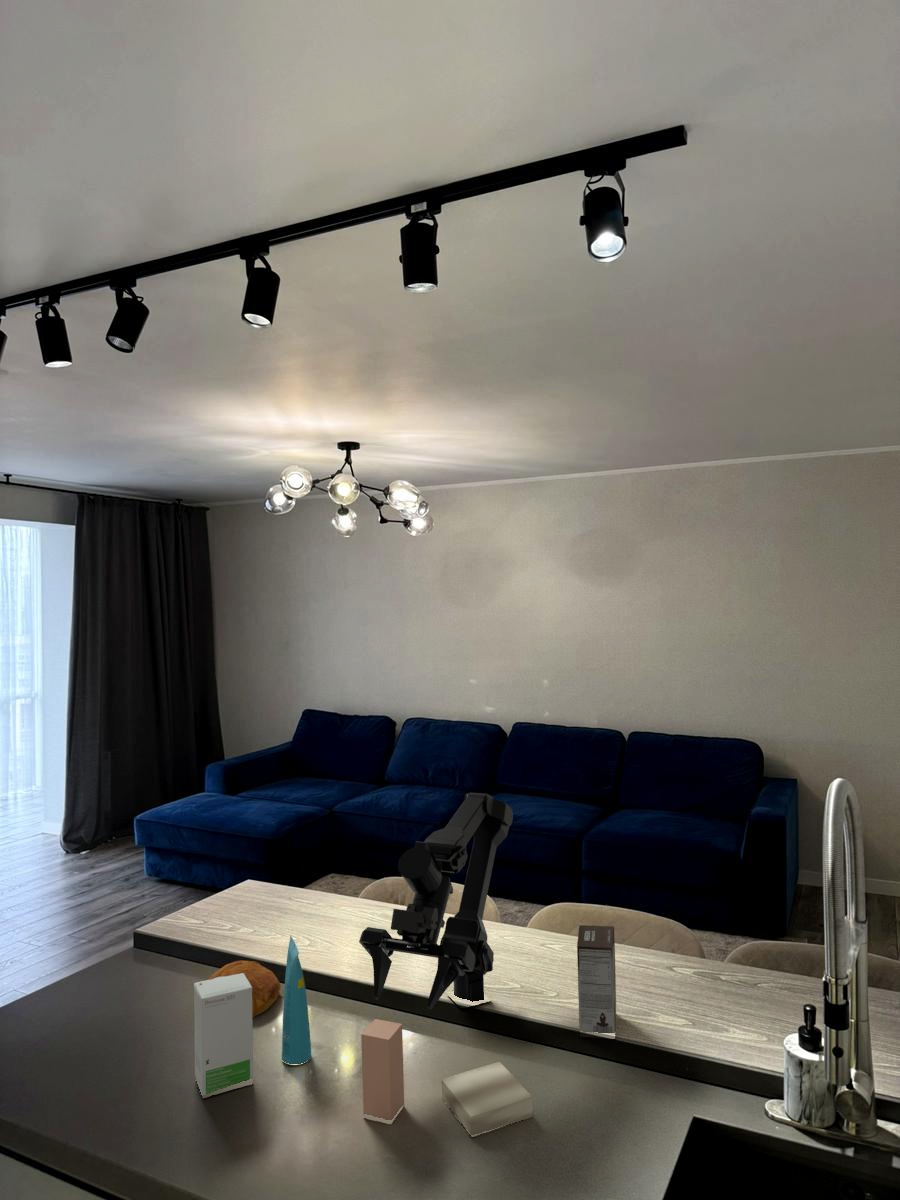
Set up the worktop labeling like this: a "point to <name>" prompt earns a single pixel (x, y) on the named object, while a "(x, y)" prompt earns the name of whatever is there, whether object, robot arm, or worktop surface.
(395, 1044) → the column
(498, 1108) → the plinth
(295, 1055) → the tube
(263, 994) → the bread loaf
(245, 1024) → the skincare box
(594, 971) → the coffee box
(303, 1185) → the worktop surface
